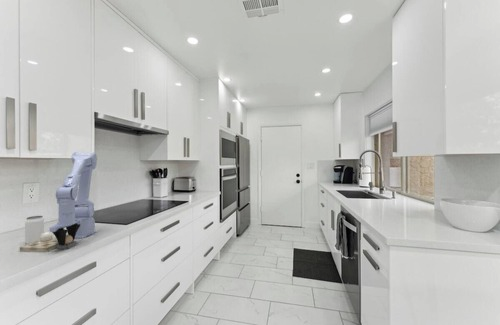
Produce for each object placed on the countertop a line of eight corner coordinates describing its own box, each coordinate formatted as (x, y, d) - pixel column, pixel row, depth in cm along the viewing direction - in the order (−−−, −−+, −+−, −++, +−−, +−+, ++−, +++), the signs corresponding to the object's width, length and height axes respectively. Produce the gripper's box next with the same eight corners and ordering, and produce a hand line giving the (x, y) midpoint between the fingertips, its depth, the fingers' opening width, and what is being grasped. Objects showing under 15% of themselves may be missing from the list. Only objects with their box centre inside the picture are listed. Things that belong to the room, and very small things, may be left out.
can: (47, 239, 108) (47, 215, 108) (35, 244, 102) (35, 218, 102) (34, 239, 108) (34, 215, 108) (20, 244, 102) (21, 218, 102)
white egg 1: (46, 239, 105) (46, 230, 105) (55, 239, 105) (55, 230, 105) (37, 242, 100) (37, 233, 100) (46, 243, 100) (46, 233, 100)
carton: (46, 241, 106) (46, 237, 106) (70, 241, 105) (70, 238, 105) (19, 251, 94) (19, 247, 94) (46, 252, 93) (46, 247, 93)
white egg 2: (58, 239, 105) (58, 230, 105) (67, 240, 105) (67, 230, 105) (49, 243, 100) (49, 233, 100) (58, 243, 100) (58, 233, 100)
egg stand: (66, 244, 102) (66, 241, 102) (77, 244, 102) (77, 241, 102) (55, 249, 97) (55, 245, 97) (67, 249, 96) (67, 245, 96)
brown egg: (66, 242, 102) (66, 233, 102) (75, 242, 101) (75, 233, 101) (57, 246, 97) (57, 236, 97) (67, 246, 97) (67, 236, 97)
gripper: (71, 209, 107) (71, 237, 107) (42, 216, 92) (42, 248, 92) (85, 209, 106) (85, 237, 106) (58, 217, 92) (58, 249, 92)
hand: (66, 242), depth 99 cm, fingers closed on brown egg, 4 cm apart
